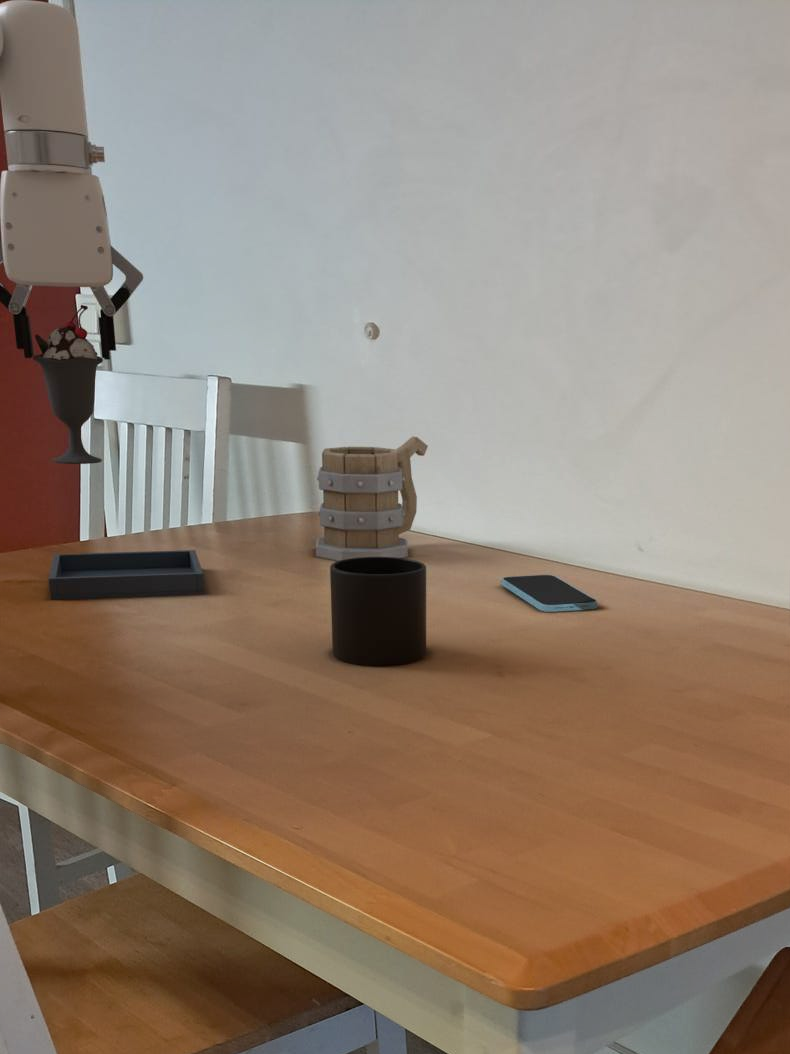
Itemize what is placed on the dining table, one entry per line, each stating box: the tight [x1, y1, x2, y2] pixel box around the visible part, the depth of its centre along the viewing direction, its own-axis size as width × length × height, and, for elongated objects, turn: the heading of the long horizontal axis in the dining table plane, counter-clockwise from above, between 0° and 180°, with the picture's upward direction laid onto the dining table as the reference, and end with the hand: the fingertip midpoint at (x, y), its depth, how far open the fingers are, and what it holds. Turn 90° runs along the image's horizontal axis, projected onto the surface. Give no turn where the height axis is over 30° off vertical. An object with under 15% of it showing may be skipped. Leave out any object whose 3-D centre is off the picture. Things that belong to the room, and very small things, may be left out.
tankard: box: [315, 436, 429, 562], centre depth 178 cm, size 20×13×15 cm, turn 139°
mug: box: [329, 557, 427, 667], centre depth 128 cm, size 9×12×9 cm
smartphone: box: [501, 574, 598, 613], centre depth 154 cm, size 7×1×15 cm
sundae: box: [32, 304, 104, 465], centre depth 129 cm, size 7×7×15 cm
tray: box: [48, 549, 206, 601], centre depth 157 cm, size 18×16×3 cm
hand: (67, 356), depth 128 cm, fingers closed on sundae, 6 cm apart
